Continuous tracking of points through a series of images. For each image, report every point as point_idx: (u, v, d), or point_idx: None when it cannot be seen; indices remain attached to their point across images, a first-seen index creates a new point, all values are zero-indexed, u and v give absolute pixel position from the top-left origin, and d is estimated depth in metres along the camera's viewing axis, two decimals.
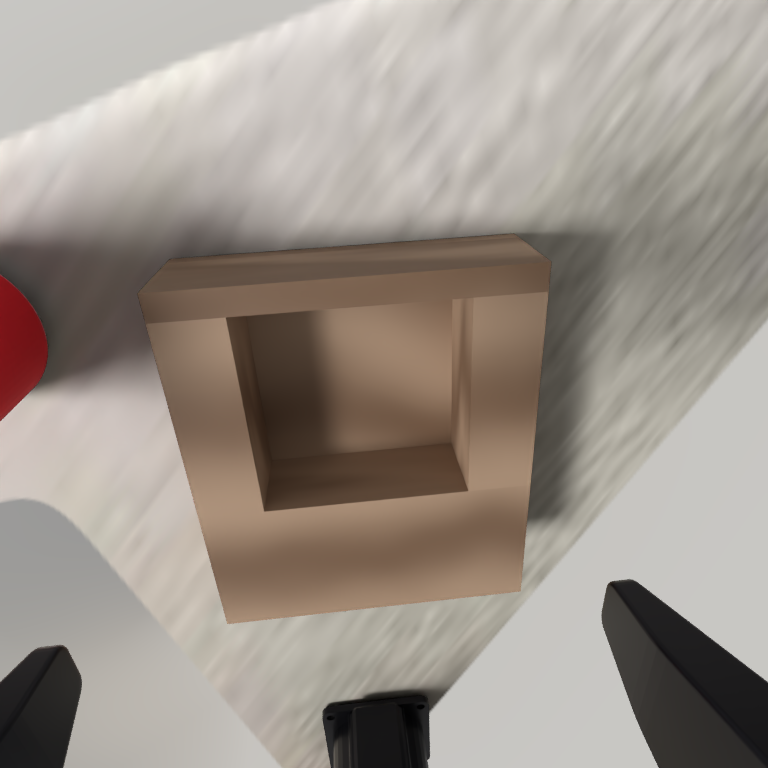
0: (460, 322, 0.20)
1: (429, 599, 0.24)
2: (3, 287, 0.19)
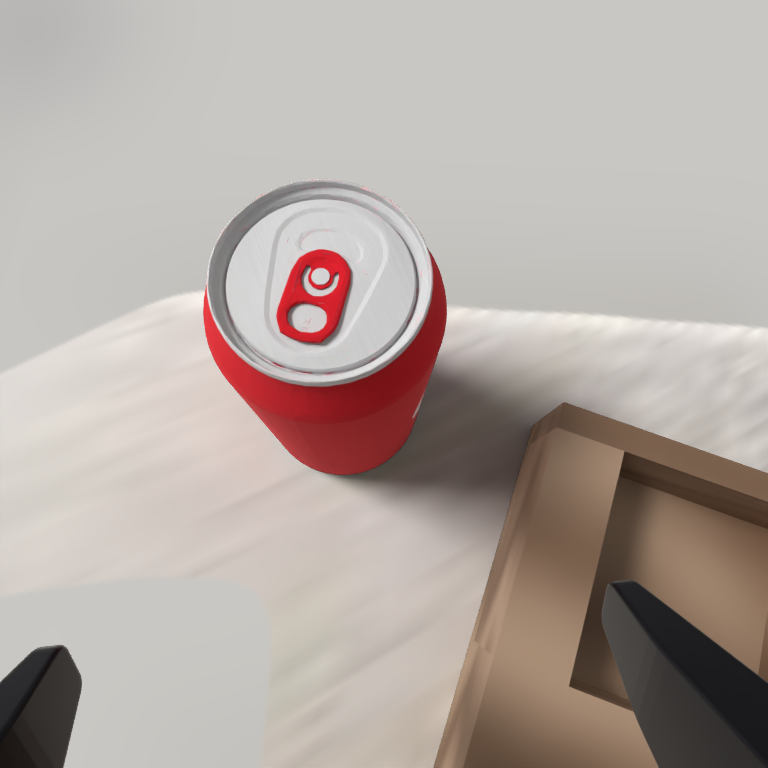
0: None
1: None
2: None
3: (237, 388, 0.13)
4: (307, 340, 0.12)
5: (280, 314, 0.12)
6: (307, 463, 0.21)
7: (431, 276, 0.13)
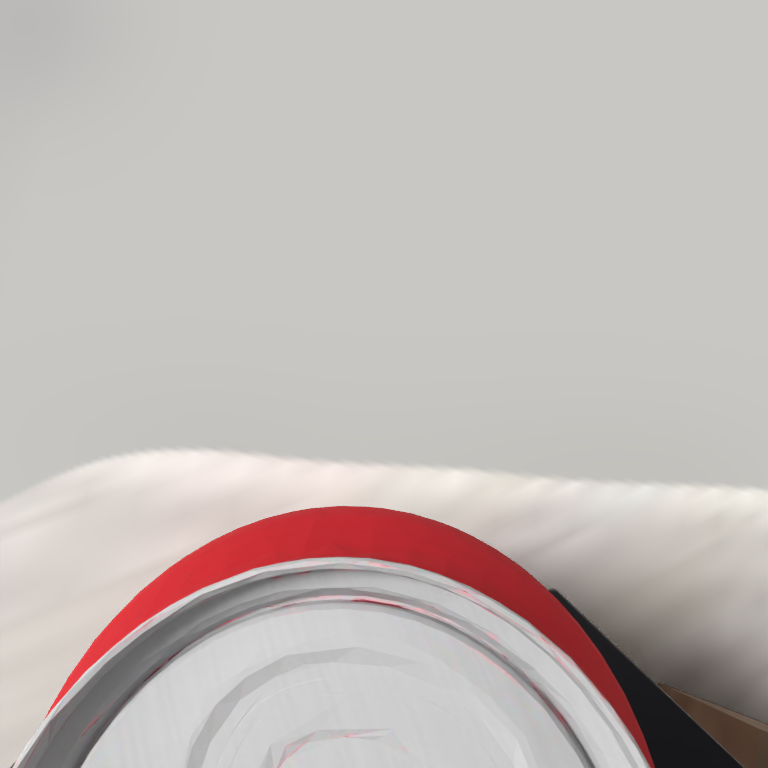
0: None
1: None
2: None
3: None
4: None
5: None
6: None
7: None
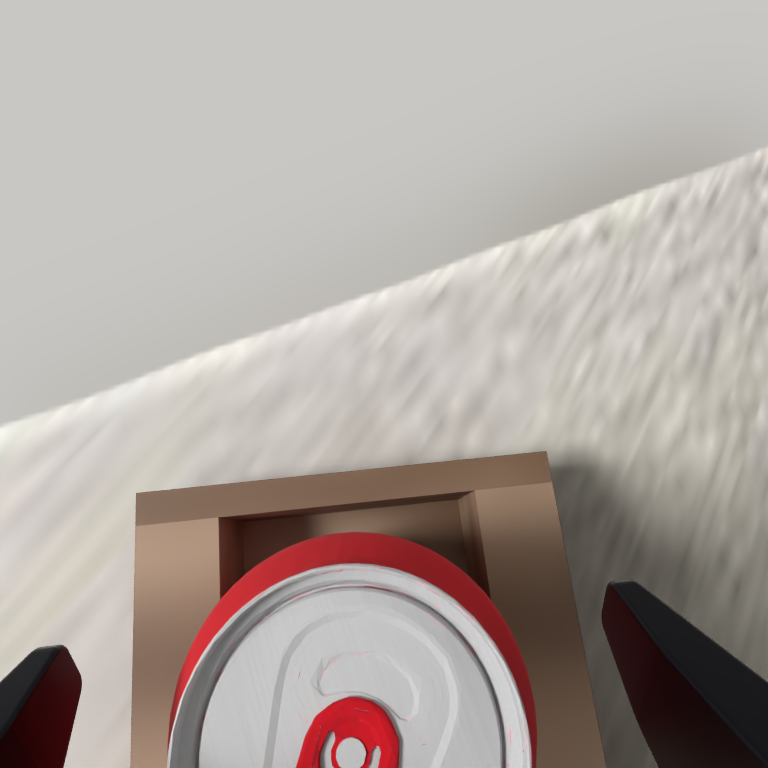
0: (471, 543, 0.19)
1: None
2: None
3: None
4: None
5: None
6: None
7: (529, 759, 0.08)
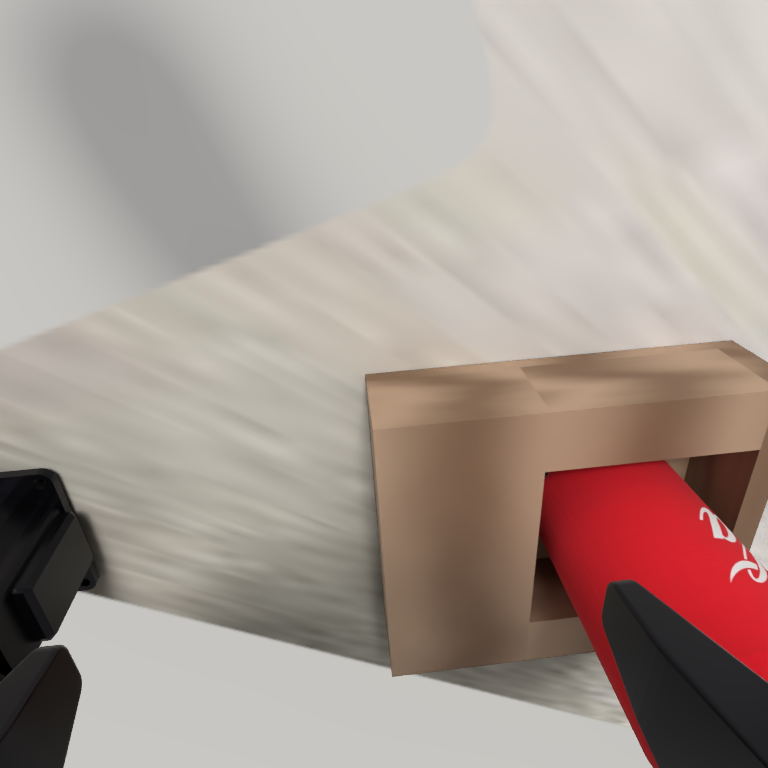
0: None
1: (390, 613, 0.22)
2: None
3: None
4: None
5: None
6: (556, 494, 0.22)
7: None
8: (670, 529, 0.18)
